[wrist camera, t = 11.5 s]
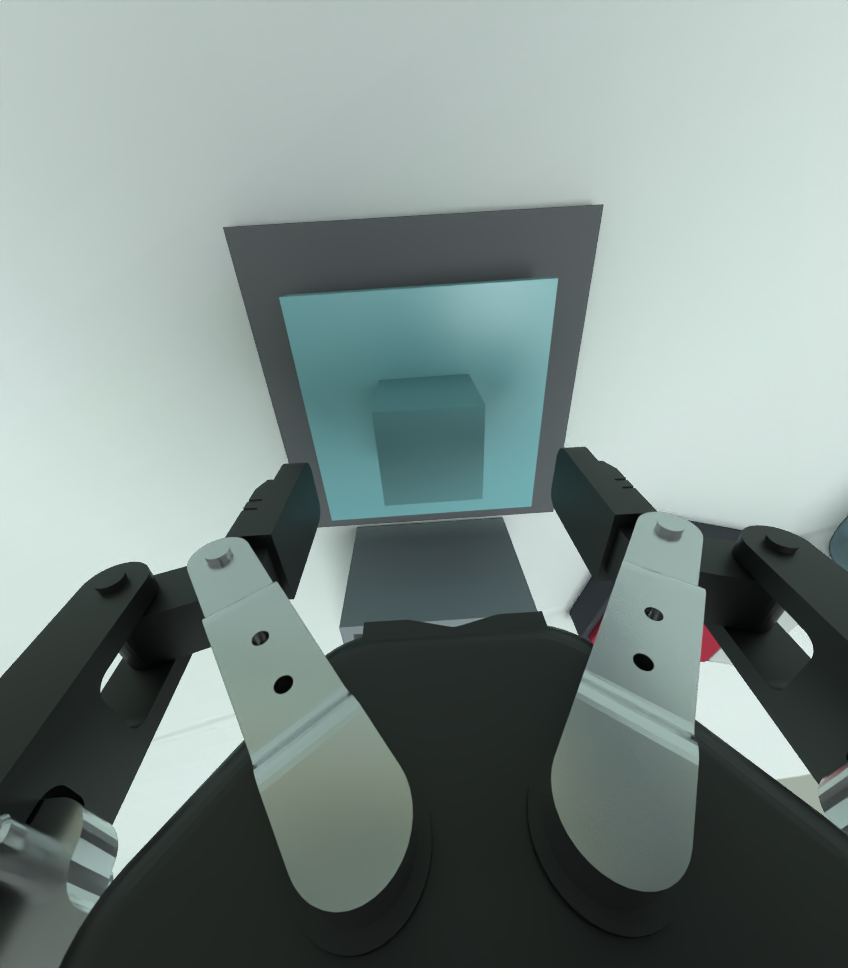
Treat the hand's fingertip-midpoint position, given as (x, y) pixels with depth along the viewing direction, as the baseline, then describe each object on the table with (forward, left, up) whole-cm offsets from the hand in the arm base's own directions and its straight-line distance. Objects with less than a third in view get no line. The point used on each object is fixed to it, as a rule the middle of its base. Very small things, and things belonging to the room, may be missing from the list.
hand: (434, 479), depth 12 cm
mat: (0, 0, -10) cm, 10 cm away
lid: (0, 0, -9) cm, 9 cm away
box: (+14, 0, -10) cm, 17 cm away
